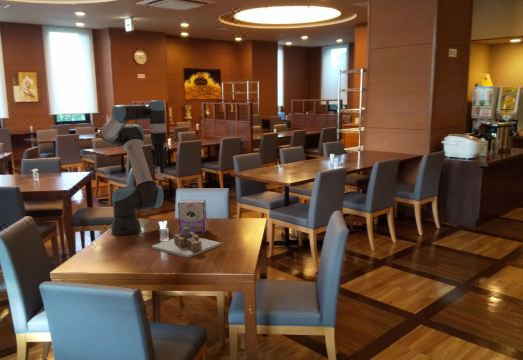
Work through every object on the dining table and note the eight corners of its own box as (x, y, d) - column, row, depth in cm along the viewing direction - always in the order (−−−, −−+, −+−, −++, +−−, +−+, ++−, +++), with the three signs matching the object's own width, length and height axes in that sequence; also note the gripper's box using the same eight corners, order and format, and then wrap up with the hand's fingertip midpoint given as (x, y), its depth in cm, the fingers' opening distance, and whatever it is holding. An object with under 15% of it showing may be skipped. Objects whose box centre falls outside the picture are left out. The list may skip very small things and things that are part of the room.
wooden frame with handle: (174, 242, 221) (173, 234, 220) (192, 239, 225) (192, 231, 224) (186, 253, 205) (186, 244, 204) (206, 250, 209) (205, 241, 209)
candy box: (207, 230, 247) (206, 199, 244) (205, 233, 241) (203, 202, 238) (182, 229, 248) (180, 199, 245) (179, 232, 242) (177, 202, 239)
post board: (151, 248, 218) (150, 229, 216) (186, 236, 235) (185, 219, 234) (188, 258, 203) (187, 238, 202) (222, 245, 220) (221, 227, 219)
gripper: (143, 132, 230) (146, 179, 234) (161, 133, 222) (163, 181, 226) (155, 131, 235) (158, 177, 239) (172, 132, 228) (175, 179, 232)
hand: (160, 179), depth 233 cm, fingers closed
